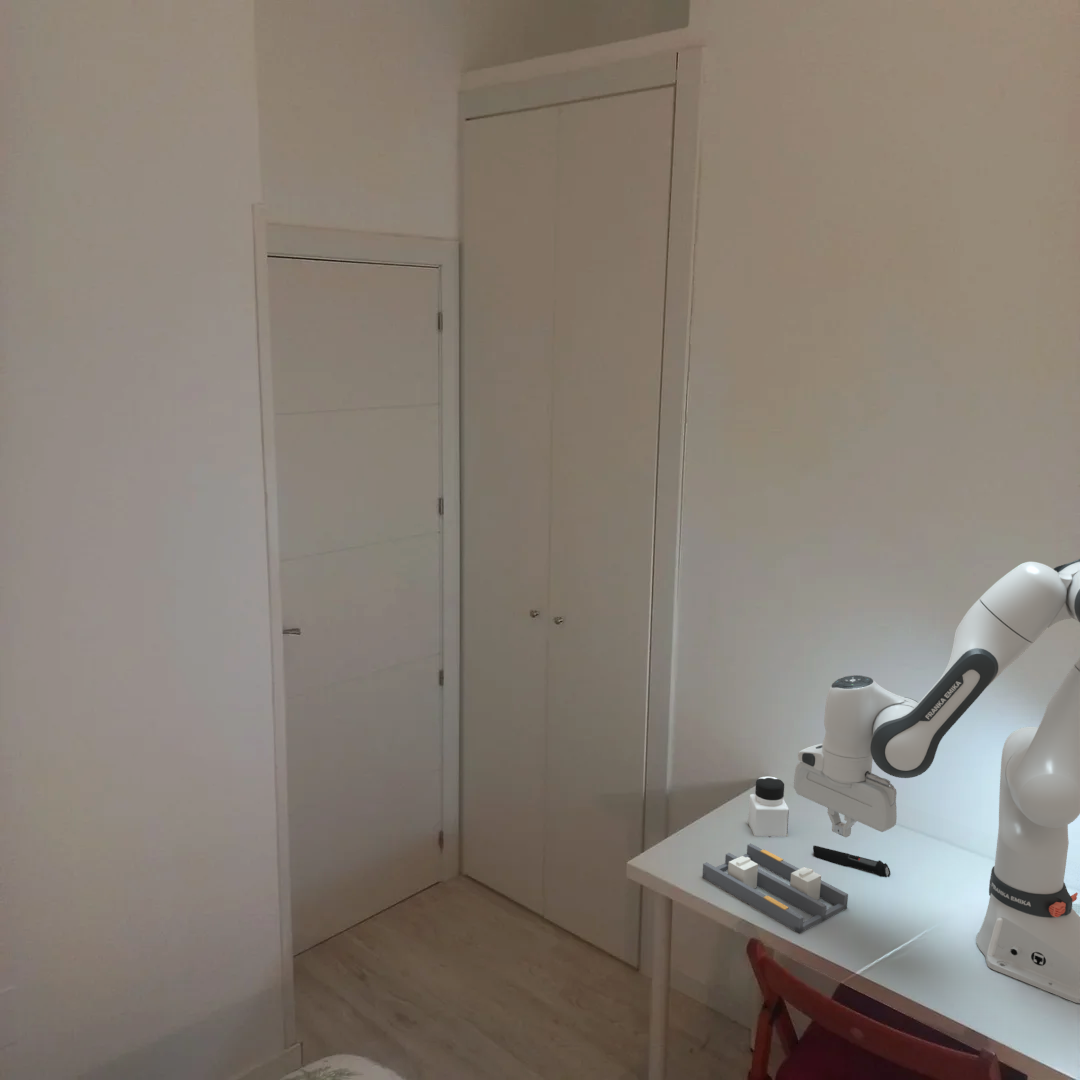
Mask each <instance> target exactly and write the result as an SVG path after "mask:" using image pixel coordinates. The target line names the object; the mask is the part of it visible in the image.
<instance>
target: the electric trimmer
mask: <svg viewBox="0 0 1080 1080" xmlns="http://www.w3.org/2000/svg"><path fill="white" fill-rule="evenodd" d="M812 850H813V851H812V852H813V856H814V857H815V858H817V859H820V860H823V861H826V862H829V863H831V864H834V865H838V866H841V867H846V868H847V867H849V868H853V869H858V870H860V871H861V870H862V871H863V872H869V873H873V874H877V875H878V876H879V877H880V878H890V876H891V874H892V873H891V869H890V868H889V866H888V865H889V864H887V862H885V863H884V862H883V861H882V860H875V859H870V858H866V857H861V856H859V855H853V854H850V853H848V852H843V851H839V850H834V849H830V848H828V847H827V848H826V847H823V846H819V845H812Z"/></svg>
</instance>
